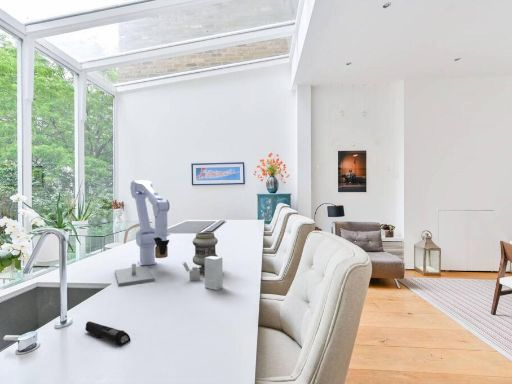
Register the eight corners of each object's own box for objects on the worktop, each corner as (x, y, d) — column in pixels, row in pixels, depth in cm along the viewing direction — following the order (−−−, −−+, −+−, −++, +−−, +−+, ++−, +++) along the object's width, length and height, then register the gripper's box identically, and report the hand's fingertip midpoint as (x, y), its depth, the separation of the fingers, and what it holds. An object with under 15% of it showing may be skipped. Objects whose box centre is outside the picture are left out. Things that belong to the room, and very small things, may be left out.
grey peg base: (114, 272, 139) (114, 259, 139) (146, 268, 146) (146, 256, 146) (118, 286, 120) (118, 271, 120) (154, 280, 127) (154, 267, 126)
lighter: (199, 278, 130) (199, 260, 130) (199, 279, 128) (199, 261, 128) (182, 279, 128) (182, 261, 128) (182, 281, 126) (182, 262, 126)
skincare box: (223, 287, 118) (222, 257, 118) (216, 290, 115) (216, 259, 114) (211, 284, 122) (210, 255, 121) (204, 287, 118) (204, 257, 118)
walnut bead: (154, 256, 144) (154, 245, 144) (165, 254, 147) (165, 244, 147) (156, 258, 140) (156, 248, 140) (168, 257, 142) (168, 246, 142)
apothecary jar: (187, 272, 139) (187, 233, 139) (203, 266, 150) (203, 230, 149) (208, 275, 133) (208, 235, 133) (223, 269, 144) (223, 232, 144)
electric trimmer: (94, 329, 85) (94, 318, 85) (131, 341, 78) (131, 329, 78) (81, 334, 82) (81, 323, 82) (119, 348, 74) (118, 335, 74)
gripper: (173, 226, 139) (173, 255, 139) (166, 223, 151) (166, 249, 152) (157, 227, 135) (157, 257, 135) (151, 223, 148) (152, 251, 148)
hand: (161, 253), depth 143 cm, fingers closed on walnut bead, 5 cm apart
